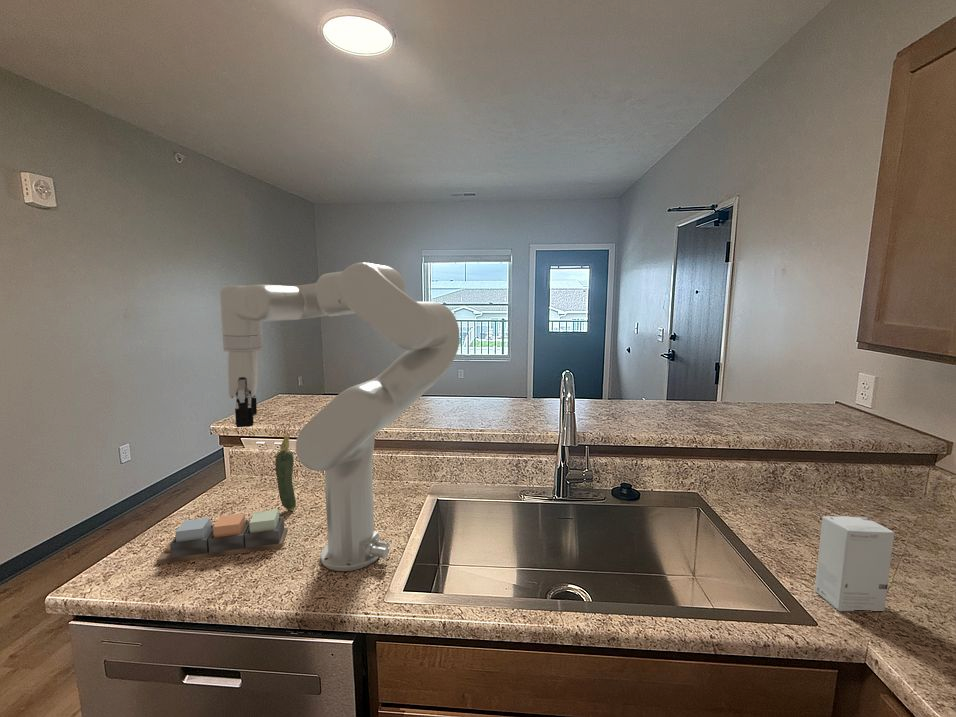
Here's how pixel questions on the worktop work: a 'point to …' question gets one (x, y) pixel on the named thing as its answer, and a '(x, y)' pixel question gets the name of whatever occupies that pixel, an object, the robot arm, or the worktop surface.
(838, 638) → the worktop surface
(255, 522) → the sage key
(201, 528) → the slate key
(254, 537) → the gray compartment tray
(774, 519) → the worktop surface
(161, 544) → the worktop surface
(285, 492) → the vegetable
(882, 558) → the skincare box
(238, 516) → the terracotta key
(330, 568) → the robot arm
